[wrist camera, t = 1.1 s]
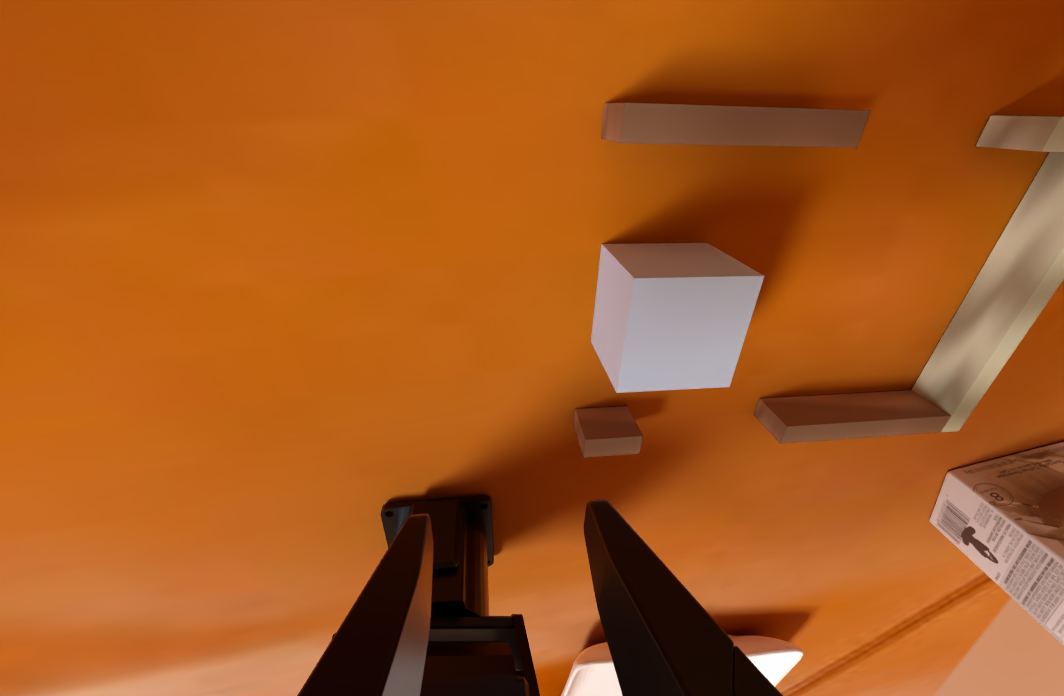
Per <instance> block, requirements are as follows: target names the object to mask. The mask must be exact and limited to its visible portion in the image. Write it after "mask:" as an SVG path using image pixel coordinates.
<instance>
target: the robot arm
mask: <svg viewBox="0 0 1064 696" xmlns="http://www.w3.org/2000/svg"><path fill="white" fill-rule="evenodd" d="M483 503H484V504H483ZM381 518H382V522H383V527H384V531H385V535H386V540H387V544H388V550H387V552H386V553H385V555H384V557H383V558H382V560H381V561H380V563H379V565H378V566H377V568H376V569H375V571H374V573H373V574H372V576H371V578H370V579H369V581H368V582H367V584H366V586H365V587H364V589H363V590H362V592H361V594H360V595H359V597H358V599H357V600H356V602H355V603H354V605H353V607H352V608H351V610H350V612H349V613H348V615H347V616H346V618H345V620H344V621H343V623H342V624H341V626H340V628H339V629H338V631H337V633H335V634H333V637H332V641H331V642H330V644H329V645H328V647H327V649H326V650H325V652H324V654H323V655H322V657H321V658H320V660H319V662H318V663H317V665H316V666H315V668H314V670H313V671H312V673H311V675H310V676H309V678H308V679H307V681H306V683H305V684H304V686H303V687H302V689H301V691H300V692H299V694H298V696H540V694H539V689H538V684H537V679H536V675H535V670H534V666H533V661H532V657H531V652H530V648H529V643H528V638H527V634H526V629H525V625H524V620H523V616H522V614H512V615H511V616H489V596H488V566H491V565H492V564H493V562H494V553H493V523H492V500H491V498H490V497H489V496H486V495H481V496H468V497H456V498H443V499H431V500H418V501H405V502H393V503H386V504H384V505H383V507H382V510H381ZM584 535H585V541H586V547H587V553H588V558H589V564H590V569H591V575H592V581H593V586H594V592H595V597H596V602H597V607H598V611H599V615H600V619H601V623H602V626H603V630H604V633H605V637H606V640H607V644H608V647H609V651H610V654H611V657H612V661H613V664H614V668H615V671H616V675H617V678H618V682H619V685H620V689H621V692H622V696H783V695H782V694H781V693H780V692H779V691H778V690H777V689H776V688H775V687H774V686H773V685H772V684H771V682H770V681H769V680H768V679H767V678H766V677H765V676H764V675H763V674H762V673H761V672H760V671H759V670H758V668H757V667H756V666H755V665H754V664H753V663H752V662H751V661H750V660H749V658H748V657H747V656H746V655H745V654H744V653H743V652H742V651H741V649H740V648H739V647H738V646H734V642H733V641H732V640H731V638H730V637H729V636H728V635H727V634H726V633H725V632H724V631H723V629H722V628H721V627H720V626H719V625H718V624H717V623H716V622H715V620H714V619H713V618H712V617H711V616H710V615H709V614H708V613H707V612H706V610H705V609H704V608H703V607H702V606H701V605H700V604H699V603H698V601H697V600H696V599H695V598H694V597H693V596H692V595H691V594H690V592H689V591H688V590H687V589H686V588H685V587H684V586H683V585H682V583H681V582H680V581H679V580H678V579H677V578H676V577H675V576H674V575H673V573H672V572H671V571H670V570H669V569H668V568H667V567H666V566H665V564H664V563H663V562H662V561H661V560H660V559H659V558H658V557H657V555H656V554H655V553H654V552H653V551H652V550H651V549H650V548H649V546H648V545H647V544H646V543H645V542H644V541H643V540H642V539H641V538H640V536H639V535H638V534H637V533H636V532H635V531H634V530H633V529H632V527H631V526H630V525H629V524H628V523H627V522H626V521H625V520H624V518H623V517H622V516H621V515H620V514H619V513H618V512H617V511H616V509H615V508H614V507H613V506H612V505H611V504H610V503H609V502H608V501H607V500H605V499H598V500H590V501H588V503H587V506H586V513H585V520H584Z"/></svg>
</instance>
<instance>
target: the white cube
mask: <svg viewBox="0 0 1064 696" xmlns="http://www.w3.org/2000/svg"><path fill="white" fill-rule="evenodd" d="M763 279H764V275H762V274H760V273H759V272H757V271H755V270H753V269H752V268H750V267H748V266H747V265H745V264H743V263H741V262H740V261H738V260H736V259H734V258H733V257H731V256H729V255H728V254H726V253H724V252H722V251H721V250H719V249H717V248H715V247H714V246H712V245H710V244H709V243H632V244H602V245H601V255H600V264H599V273H598V282H597V291H596V301H595V310H594V319H593V328H592V337H591V343H592V345H593V347H594V349H595V351H596V353H597V355H598V357H599V359H600V361H601V363H602V365H603V367H604V369H605V371H606V373H607V375H608V377H609V379H610V381H611V383H612V385H613V387H614V389H615V391H616V393H624V392H643V391H662V390H681V389H700V388H719V387H730V384H731V381H732V377H733V374H734V371H735V368H736V365H737V362H738V358H739V355H740V352H741V349H742V346H743V342H744V339H745V336H746V333H747V330H748V327H749V323H750V320H751V317H752V314H753V311H754V308H755V304H756V301H757V298H758V295H759V292H760V289H761V285H762V282H763Z"/></svg>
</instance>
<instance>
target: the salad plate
mask: <svg viewBox="0 0 1064 696" xmlns="http://www.w3.org/2000/svg"><path fill="white" fill-rule="evenodd" d="M728 636H729V637H730V638H731V640H732V641H733V642H734V646H738V647H739V648H740V649H741V651H742V652H743V653H744V654H745V655H746V656H747V657H748V658H749V660H750V661H751V662H752V663H753V664H754V665H755V666H756V667H757V668H758V670H759V671H760V672H761V673H762V674H763V675H764V676H765V677H766V678H767V679H768V680H769V681H770V682H771V684H772V685H773V686H774V687H775V686H776V685H777V684H778V683H779V682H780V681H781V680H782V678H783V677H784V676H785V675H786V674H787V673H788V672H789V671H790V670H791V669H792V668H793V667H794V666H795V665H796V664H797V663H798V661H799V660H800V659H801V658H802V656H803V651H802V650H801V649H800V648H799V647H797V646H796V645H794V644H792V643H789V642H787V641H784V640H781V639H777V638H772V637H765V636H749V635H748V636H734V635H728ZM561 696H622V692H621V689H620V685H619V682H618V678H617V675H616V671H615V668H614V664H613V661H612V657H611V654H610V651H609V647H608V644H607V642H604V643H600V644H596V645H593V646H590V647H588V648H586V649H585V650H583V651H582V652H581V653H580V654H579V655H578V656H577V658H576V659H575V662H574V664H573V667H572V670H571V672H570V675H569V678H568V680H567V683H566V685H565V687H564V689H563V691H562V694H561Z"/></svg>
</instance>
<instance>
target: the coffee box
mask: <svg viewBox="0 0 1064 696" xmlns="http://www.w3.org/2000/svg"><path fill="white" fill-rule="evenodd" d="M929 521H930V523H931V524H933V525H934V526H935V527H936V528H937V529H938V530H939V531H940V532H941V533H942V534H943V535H944V536H945V537H947V538H948V539H949V540H950V541H951V542H952V543H953V544H954V545H955V546H957V547H958V548H959V549H960V550H961V551H962V552H963V553H964V554H965V555H966V556H967V557H968V558H969V559H970V560H972V561H973V562H974V563H975V564H976V565H977V566H978V567H979V568H980V569H981V570H982V571H983V572H984V573H986V574H987V575H988V576H989V577H990V578H991V579H992V580H993V581H994V582H995V583H996V584H997V585H999V586H1000V587H1001V588H1002V589H1003V590H1004V591H1005V592H1006V593H1007V594H1008V595H1009V596H1010V597H1012V598H1013V599H1014V600H1015V601H1016V602H1017V603H1018V604H1019V605H1020V606H1021V607H1022V608H1023V609H1025V610H1026V611H1027V612H1028V613H1029V614H1030V615H1031V616H1032V617H1033V618H1034V619H1036V620H1037V621H1038V622H1039V623H1040V624H1041V625H1042V626H1043V627H1044V628H1045V629H1046V630H1047V631H1048V632H1049V633H1051V634H1052V635H1053V636H1054V637H1055V638H1056V639H1057V640H1058V641H1059V642H1060V643H1061V644H1062V645H1063V646H1064V442H1060V443H1056V444H1053V445H1049V446H1045V447H1041V448H1037V449H1033V450H1029V451H1025V452H1021V453H1017V454H1013V455H1009V456H1005V457H1001V458H997V459H993V460H989V461H986V462H982V463H978V464H974V465H970V466H966V467H962V468H958V469H955V470H952V471H949V472H948V473H947V474H946V477H945V480H944V482H943V485H942V488H941V490H940V493H939V496H938V498H937V501H936V504H935V506H934V509H933V512H932V514H931V517H930V519H929Z"/></svg>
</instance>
